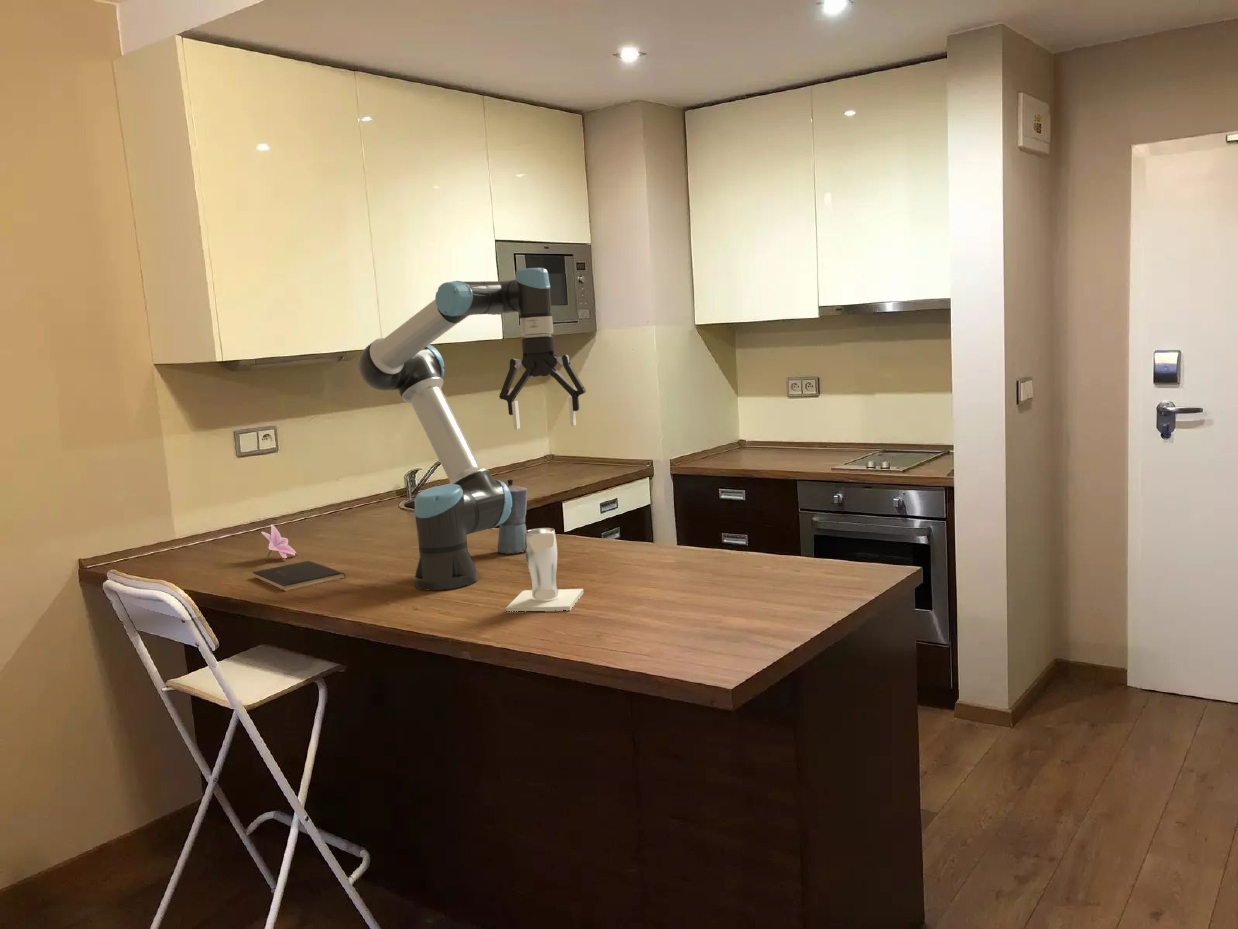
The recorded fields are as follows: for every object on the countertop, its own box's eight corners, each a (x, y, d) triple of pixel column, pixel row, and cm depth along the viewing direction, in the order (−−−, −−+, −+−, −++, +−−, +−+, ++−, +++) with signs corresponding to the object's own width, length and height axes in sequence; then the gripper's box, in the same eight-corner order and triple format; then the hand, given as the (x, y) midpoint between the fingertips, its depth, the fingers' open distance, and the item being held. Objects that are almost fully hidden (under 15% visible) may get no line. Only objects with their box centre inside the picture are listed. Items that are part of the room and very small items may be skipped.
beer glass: (529, 595, 218) (523, 529, 216) (561, 592, 219) (555, 526, 217) (529, 603, 211) (523, 535, 209) (561, 600, 212) (555, 532, 210)
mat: (506, 612, 210) (505, 607, 210) (523, 594, 223) (523, 590, 223) (570, 610, 207) (569, 606, 207) (583, 593, 221) (583, 588, 221)
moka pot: (541, 545, 276) (535, 475, 273) (517, 558, 261) (511, 484, 258) (510, 545, 279) (504, 476, 276) (485, 558, 264) (478, 485, 262)
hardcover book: (284, 594, 244) (283, 585, 243) (253, 580, 262) (252, 571, 261) (345, 580, 253) (344, 571, 253) (312, 568, 271) (311, 560, 271)
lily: (264, 570, 275) (278, 540, 275) (241, 551, 282) (254, 521, 281) (297, 573, 286) (311, 544, 285) (274, 555, 292) (287, 526, 291)
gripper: (481, 340, 226) (489, 431, 229) (586, 332, 222) (594, 425, 225) (490, 339, 233) (498, 428, 236) (593, 331, 229) (600, 422, 232)
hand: (545, 427), depth 230 cm, fingers open, 13 cm apart
